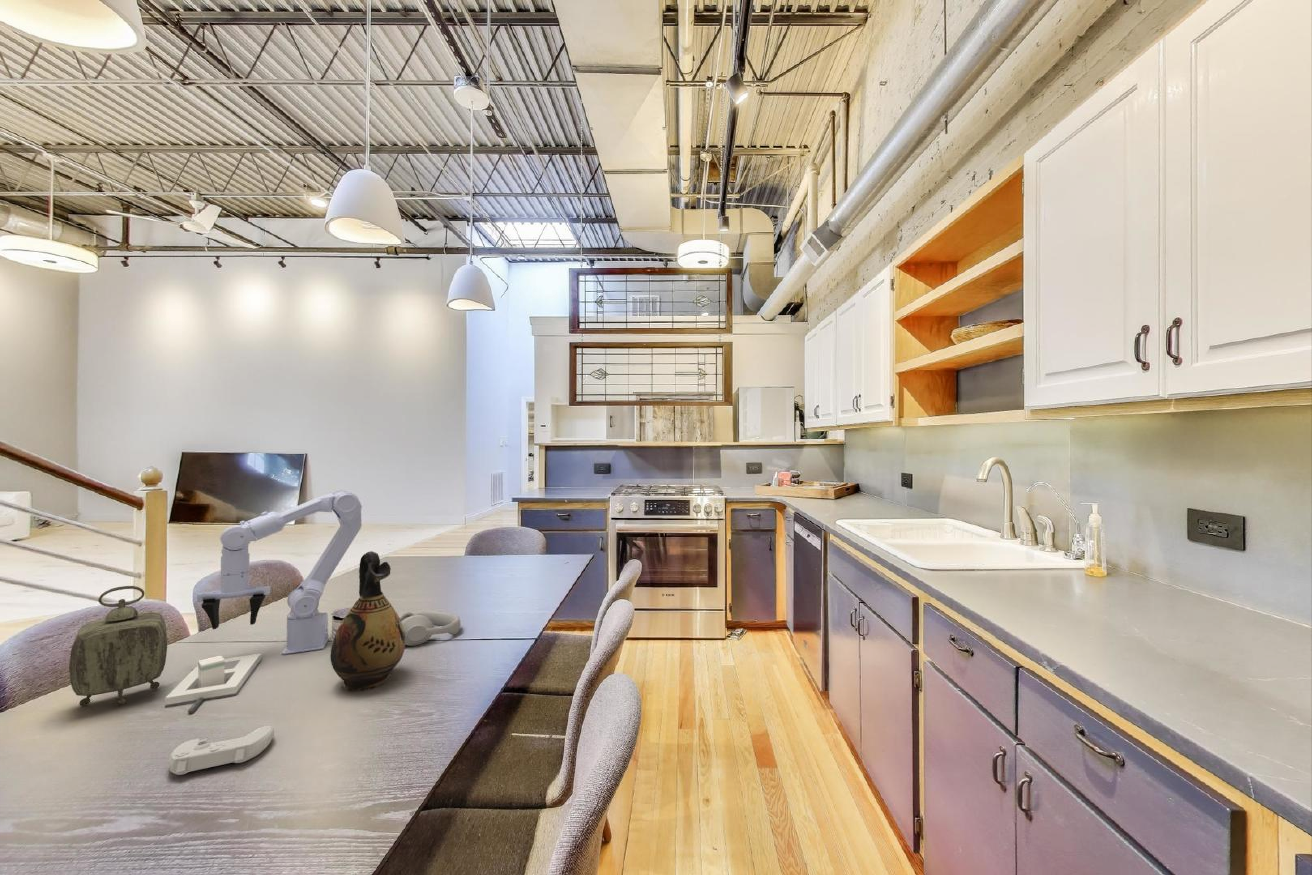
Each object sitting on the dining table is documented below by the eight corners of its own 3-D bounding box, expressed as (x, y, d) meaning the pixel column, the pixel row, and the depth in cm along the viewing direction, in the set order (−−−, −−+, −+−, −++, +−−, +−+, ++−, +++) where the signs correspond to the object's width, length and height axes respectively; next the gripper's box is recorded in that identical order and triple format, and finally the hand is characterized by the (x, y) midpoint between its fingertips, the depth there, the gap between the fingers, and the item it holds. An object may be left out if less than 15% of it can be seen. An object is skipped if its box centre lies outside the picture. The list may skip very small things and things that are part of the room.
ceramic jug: (415, 680, 121) (416, 553, 121) (342, 704, 109) (343, 564, 110) (389, 659, 132) (389, 544, 133) (320, 679, 121) (321, 553, 121)
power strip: (260, 661, 131) (260, 652, 131) (226, 707, 108) (226, 697, 108) (201, 669, 126) (201, 661, 126) (151, 721, 103) (152, 710, 103)
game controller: (278, 718, 98) (263, 733, 89) (277, 743, 97) (261, 761, 88) (182, 736, 92) (156, 754, 83) (180, 762, 91) (153, 784, 83)
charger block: (221, 680, 119) (221, 655, 119) (224, 686, 117) (224, 659, 117) (197, 687, 116) (198, 660, 116) (200, 692, 114) (201, 665, 114)
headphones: (409, 652, 135) (471, 638, 152) (413, 622, 136) (474, 611, 153) (371, 638, 145) (433, 627, 162) (375, 610, 146) (436, 602, 163)
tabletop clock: (166, 684, 119) (167, 577, 119) (166, 697, 112) (168, 584, 113) (72, 706, 109) (74, 589, 109) (66, 722, 102) (69, 598, 103)
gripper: (273, 566, 138) (273, 616, 137) (205, 572, 131) (204, 624, 131) (266, 572, 131) (266, 625, 131) (194, 578, 125) (193, 634, 125)
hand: (234, 625), depth 131 cm, fingers open, 7 cm apart
